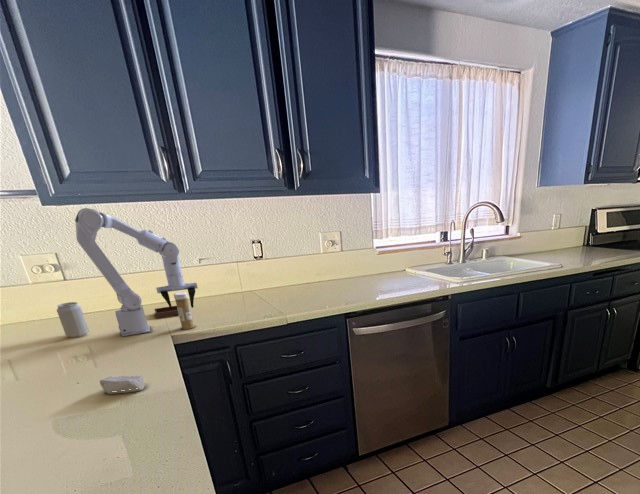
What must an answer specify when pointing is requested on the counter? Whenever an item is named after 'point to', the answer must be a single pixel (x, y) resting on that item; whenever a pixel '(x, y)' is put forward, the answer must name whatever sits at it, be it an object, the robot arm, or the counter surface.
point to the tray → (166, 312)
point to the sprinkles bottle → (184, 310)
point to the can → (72, 319)
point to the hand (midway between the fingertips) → (182, 308)
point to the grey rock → (122, 384)
